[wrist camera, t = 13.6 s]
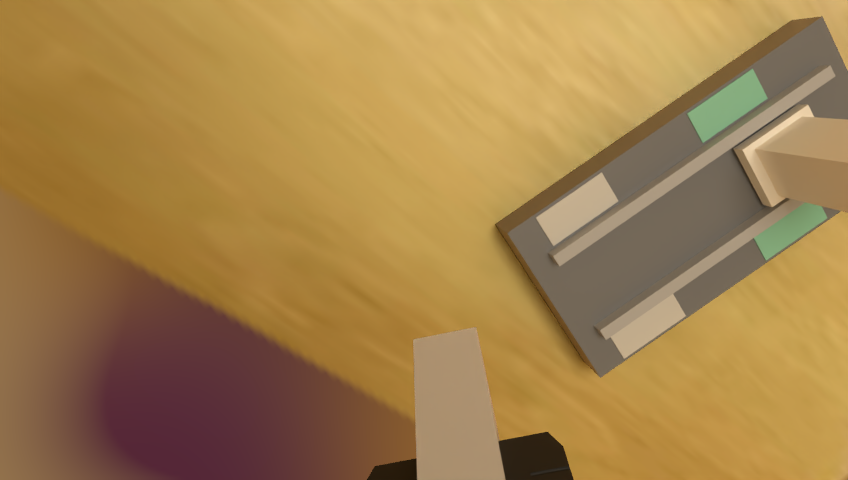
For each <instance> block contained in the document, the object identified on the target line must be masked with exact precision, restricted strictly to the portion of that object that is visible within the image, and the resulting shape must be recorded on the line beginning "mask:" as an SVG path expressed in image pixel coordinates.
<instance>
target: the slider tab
mask: <svg viewBox="0 0 848 480" xmlns="http://www.w3.org/2000/svg"><path fill="white" fill-rule="evenodd" d="M734 151H735V153H736V155H737V156H738V158H739V160H740V162H741V164H742V166H743V168H744V170H745V172H746V174H747V175H748V177H749V179H750V181H751V183H752V185H753V187H754V189H755V191H756V193H757V194H758V196H759V198H760V200H761V202H762V204H763V205H766V206H769V207H774V206H775V205H776V204H778V203H779V202H781V201H782V200H784V199H785V198H789V199H793V200H798V201H802V202H806V203H810V204H814V205H818V206H823V207H827V208H831V209H835V210H839V211H844V212H848V120H847V119H832V118H818V117H814V116H813V114H812V111H811V109H810V107H809V105H805V104H797V105H796V106H795V107H793V108H792V109H790V110H789V111H787V112H786V113H784V114H783V115H781V116H780V117H779V118H777V119H776V120H774V121H773V122H771V123H770V124H768V125H767V126H765V127H764V128H763V129H761V130H760V131H758V132H757V133H755V134H754V135H752V136H751V137H750V138H748V139H747V140H745V141H744V142H742V143H741V144H739V145H738V146H736V147H735V148H734Z"/></svg>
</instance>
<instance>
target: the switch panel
mask: <svg viewBox="0 0 848 480" xmlns="http://www.w3.org/2000/svg"><path fill="white" fill-rule="evenodd" d="M797 104H805V105H809V107H810V109H811V111H812V114H813V116H814V117H818V118H832V119H847V120H848V71H847V69H846V67H845V64H844V62H843V60H842V58H841V56H840V54H839V51H838V49H837V47H836V45H835V43H834V41H833V38H832V36H831V34H830V32H829V30H828V28H827V25H826V23H825V21H824V19H823V17H814V18H807V19H799V20H792V21H790V22H789V23H787V24H786V25H784V26H783V27H782V28H780V29H779V30H777V31H776V32H774V33H773V34H771V35H770V36H768V37H767V38H766V39H764V40H763V41H761V42H760V43H758V44H757V45H755V46H754V47H752V48H751V49H750V50H748V51H747V52H745V53H744V54H742V55H741V56H739V57H738V58H736V59H735V60H734V61H732V62H731V63H729V64H728V65H726V66H725V67H723V68H722V69H720V70H719V71H718V72H716V73H715V74H713V75H712V76H710V77H709V78H707V79H706V80H704V81H703V82H702V83H700V84H699V85H697V86H696V87H694V88H693V89H691V90H690V91H688V92H687V93H686V94H684V95H683V96H681V97H680V98H678V99H677V100H675V101H674V102H672V103H671V104H670V105H668V106H667V107H665V108H664V109H662V110H661V111H659V112H658V113H656V114H655V115H654V116H652V117H651V118H649V119H648V120H646V121H645V122H643V123H642V124H640V125H639V126H638V127H636V128H635V129H633V130H632V131H630V132H629V133H627V134H626V135H624V136H623V137H622V138H620V139H619V140H617V141H616V142H614V143H613V144H611V145H610V146H608V147H607V148H606V149H604V150H603V151H601V152H600V153H598V154H597V155H595V156H594V157H592V158H591V159H590V160H588V161H587V162H585V163H584V164H582V165H581V166H579V167H578V168H576V169H575V170H574V171H572V172H571V173H569V174H568V175H566V176H565V177H563V178H562V179H560V180H559V181H558V182H556V183H555V184H553V185H552V186H550V187H549V188H547V189H546V190H544V191H543V192H542V193H540V194H539V195H537V196H536V197H534V198H533V199H531V200H530V201H528V202H527V203H526V204H524V205H523V206H521V207H520V208H518V209H517V210H515V211H514V212H512V213H511V214H510V215H508V216H507V217H505V218H504V219H502V220H501V221H499V222H498V223H496V224H495V225H496V226H497V228H498V229H499V231H500V232H501V234H502V235H503V237H504V238H505V240H506V242H507V243H508V245H509V246H510V248H511V249H512V251H513V252H514V254H515V255H516V257H517V259H518V260H519V262H520V263H521V265H522V266H523V268H524V269H525V271H526V272H527V274H528V276H529V277H530V279H531V280H532V282H533V283H534V285H535V286H536V288H537V289H538V291H539V293H540V294H541V296H542V297H543V299H544V300H545V302H546V303H547V305H548V307H549V308H550V310H551V311H552V313H553V314H554V316H555V317H556V319H557V320H558V322H559V324H560V325H561V327H562V328H563V330H564V331H565V333H566V334H567V336H568V337H569V339H570V341H571V342H572V344H573V345H574V347H575V348H576V350H577V351H578V353H579V354H580V356H581V358H582V359H583V361H584V362H585V363H586V364H587V365H588V366H589V367H590V368H591V369H592V370H593V371H594V372H595V373H596V374H597V375H598V376H599V377H600V378H601V377H602V376H603V375H605V374H606V373H608V372H609V371H611V370H612V369H614V368H615V367H616V366H618V365H619V364H621V363H622V362H624V361H625V360H627V359H628V358H629V357H631V356H632V355H634V354H635V353H637V352H638V351H640V350H641V349H642V348H644V347H645V346H647V345H648V344H650V343H651V342H653V341H654V340H655V339H657V338H658V337H660V336H661V335H663V334H664V333H666V332H667V331H668V330H670V329H671V328H673V327H674V326H676V325H677V324H679V323H680V322H681V321H683V320H684V319H686V318H687V317H689V316H690V315H692V314H693V313H694V312H696V311H697V310H699V309H700V308H702V307H703V306H705V305H706V304H707V303H709V302H710V301H712V300H713V299H715V298H716V297H718V296H719V295H720V294H722V293H723V292H725V291H726V290H728V289H729V288H731V287H732V286H733V285H735V284H736V283H738V282H739V281H741V280H742V279H744V278H745V277H746V276H748V275H749V274H751V273H752V272H754V271H755V270H757V269H758V268H760V267H761V266H762V265H764V264H765V263H767V262H768V261H770V260H771V259H773V258H774V257H775V256H777V255H778V254H780V253H781V252H783V251H784V250H786V249H787V248H788V247H790V246H791V245H793V244H794V243H796V242H797V241H799V240H800V239H801V238H803V237H804V236H806V235H807V234H809V233H810V232H812V231H813V230H814V229H816V228H817V227H819V226H820V225H822V224H823V223H825V222H826V221H827V220H829V219H830V218H832V217H833V216H835V215H836V214H838V213H839V212H840V211H839V210H835V209H831V208H827V207H823V206H818V205H814V204H810V203H806V202H802V201H798V200H793V199H789V198H785V199H784V200H782V201H781V202H779V203H778V204H776V205H775V206H774V207H769V206H766V205H763V204H762V202H761V200H760V198H759V196H758V194H757V193H756V191H755V189H754V187H753V185H752V183H751V181H750V179H749V177H748V175H747V174H746V172H745V170H744V168H743V166H742V164H741V162H740V160H739V158H738V156H737V155H736V153H735V151H734V148H735V147H736V146H738V145H739V144H741V143H742V142H744V141H745V140H747V139H748V138H750V137H751V136H752V135H754V134H755V133H757V132H758V131H760V130H761V129H763V128H764V127H765V126H767V125H768V124H770V123H771V122H773V121H774V120H776V119H777V118H779V117H780V116H781V115H783V114H784V113H786V112H787V111H789V110H790V109H792V108H793V107H795V106H796V105H797Z"/></svg>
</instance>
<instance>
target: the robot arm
mask: <svg viewBox="0 0 848 480" xmlns="http://www.w3.org/2000/svg"><path fill="white" fill-rule="evenodd" d="M413 346H414V383H415V420H416V456H417V458H416V459H411V460H406V461H400V462H395V463H390V464H385V465H379V466H375V467H374V469H373V470H372V472H371V474H370V476H369V477H368V479H367V480H573V476H572V473H571V470H570V468H569V464H568V461H567V457H566V454H565V451H564V448H563V446H562V445H561V444H560V443H559V442H558V441H557V440H556V439H555V438H553V437H552V436H551V435H550V434H549V433H548V432H544V433H539V434H533V435H528V436H523V437H518V438H512V439H507V440H502V441H500V440H499V435H498V430H497V425H496V420H495V415H494V410H493V405H492V401H491V396H490V391H489V386H488V381H487V377H486V372H485V367H484V362H483V358H482V353H481V348H480V343H479V339H478V334H477V329H476V327H474V328H469V329H464V330H459V331H454V332H449V333H444V334H438V335H433V336H428V337H423V338H418V339H413Z"/></svg>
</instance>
